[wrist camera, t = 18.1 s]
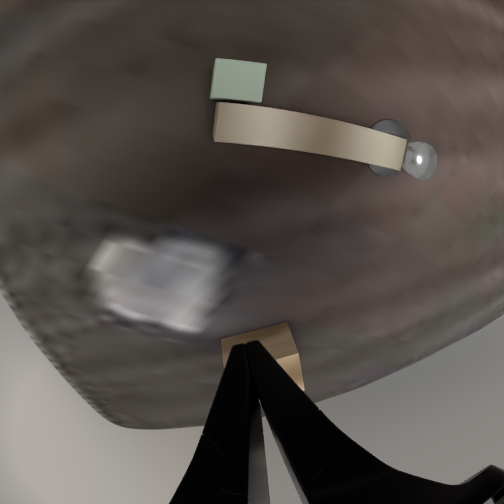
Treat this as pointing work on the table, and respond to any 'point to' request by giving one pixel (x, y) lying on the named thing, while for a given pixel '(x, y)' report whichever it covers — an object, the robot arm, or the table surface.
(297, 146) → the gate rail
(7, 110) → the table surface
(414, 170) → the metal door knob
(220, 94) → the post
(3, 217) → the table surface
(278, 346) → the oak block
